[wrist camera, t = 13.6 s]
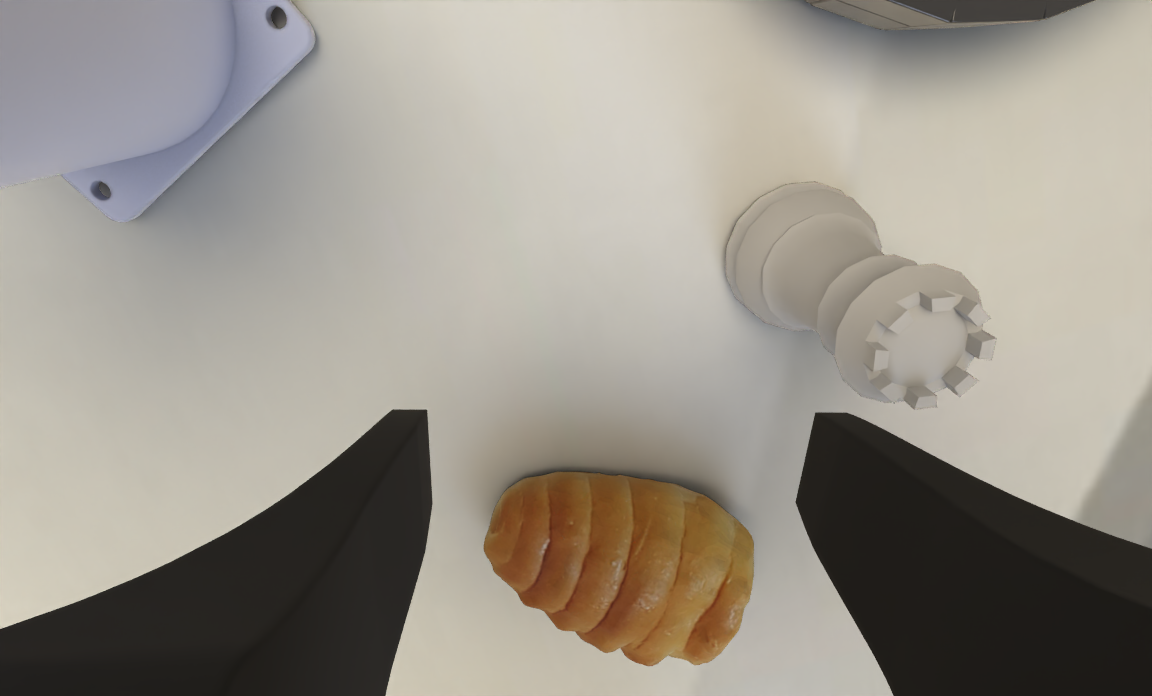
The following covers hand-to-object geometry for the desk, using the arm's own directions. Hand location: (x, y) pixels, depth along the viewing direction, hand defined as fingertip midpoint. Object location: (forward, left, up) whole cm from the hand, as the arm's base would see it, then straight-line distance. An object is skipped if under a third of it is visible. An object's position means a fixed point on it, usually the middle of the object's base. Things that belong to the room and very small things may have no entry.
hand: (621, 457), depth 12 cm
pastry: (+9, -5, -10) cm, 14 cm away
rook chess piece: (+3, +6, -10) cm, 12 cm away
